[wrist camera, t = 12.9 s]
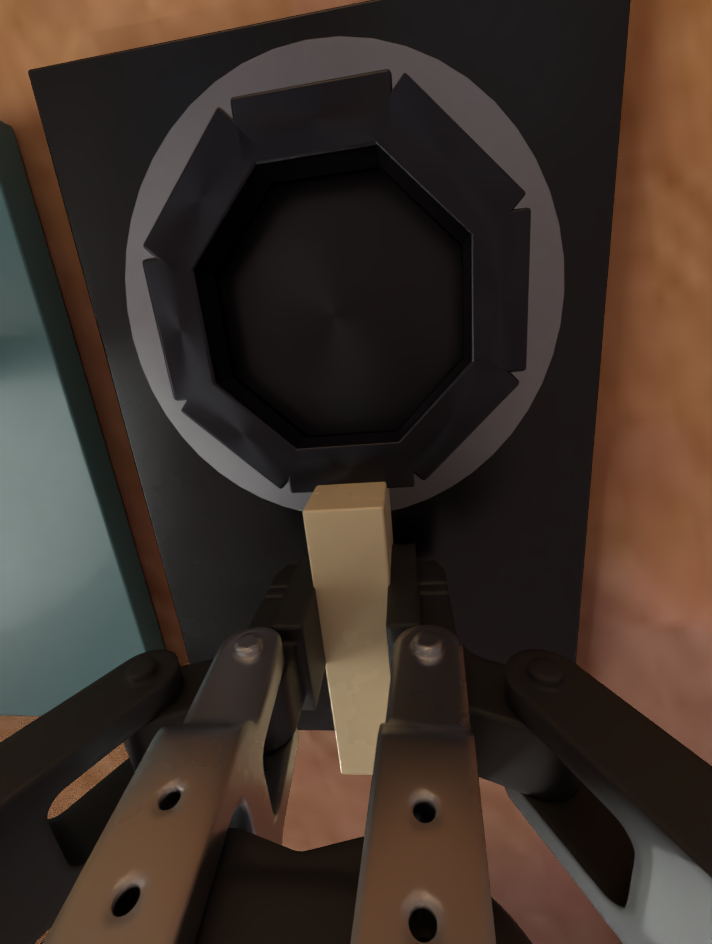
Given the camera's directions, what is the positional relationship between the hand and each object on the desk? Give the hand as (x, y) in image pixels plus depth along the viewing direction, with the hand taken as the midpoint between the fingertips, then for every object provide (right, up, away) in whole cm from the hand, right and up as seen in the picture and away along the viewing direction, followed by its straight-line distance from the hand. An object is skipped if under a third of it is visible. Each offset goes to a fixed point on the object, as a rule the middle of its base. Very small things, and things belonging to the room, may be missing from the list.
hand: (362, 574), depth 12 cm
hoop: (0, +3, 0) cm, 3 cm away
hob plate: (0, +3, +1) cm, 4 cm away
